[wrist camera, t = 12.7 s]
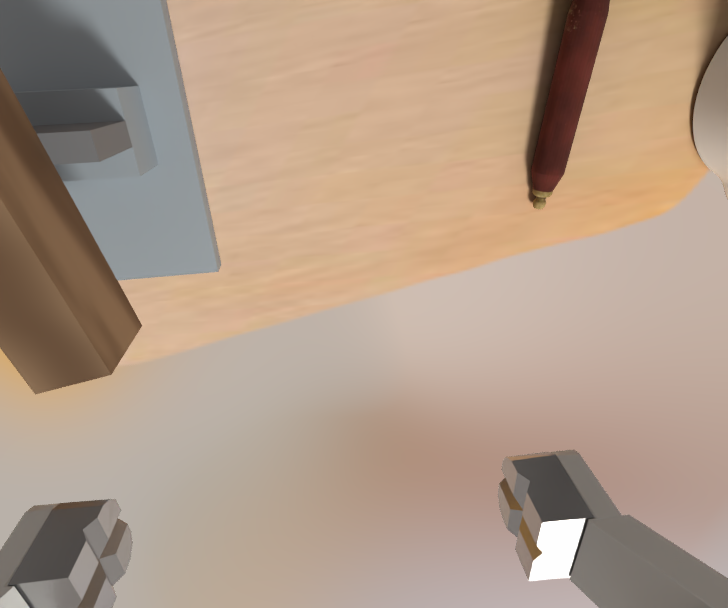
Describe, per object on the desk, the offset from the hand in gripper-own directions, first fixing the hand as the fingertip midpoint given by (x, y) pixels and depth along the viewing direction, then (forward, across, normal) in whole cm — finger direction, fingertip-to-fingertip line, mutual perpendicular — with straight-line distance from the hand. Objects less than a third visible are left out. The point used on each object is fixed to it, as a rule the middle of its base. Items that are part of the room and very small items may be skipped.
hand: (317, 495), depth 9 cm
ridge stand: (+28, +15, -5) cm, 33 cm away
